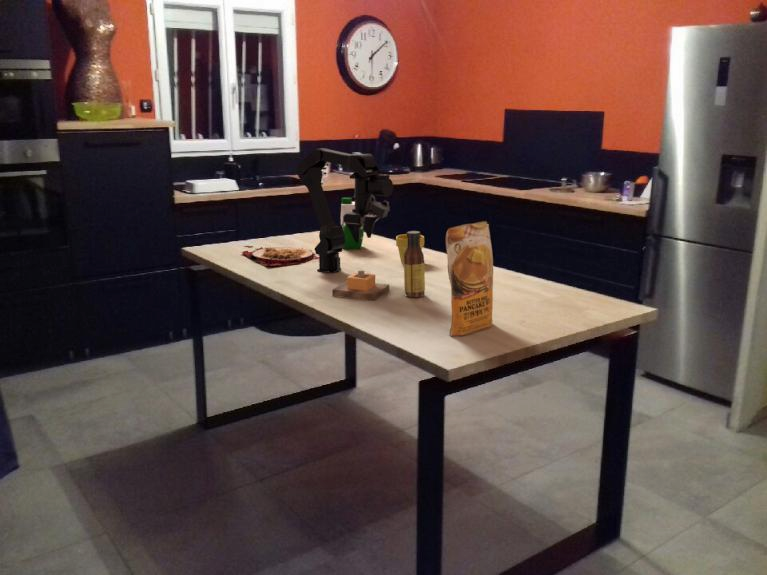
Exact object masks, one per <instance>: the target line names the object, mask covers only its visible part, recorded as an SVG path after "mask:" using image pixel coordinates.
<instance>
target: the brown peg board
mask: <svg viewBox="0 0 767 575" xmlns="http://www.w3.org/2000/svg"><path fill="white" fill-rule="evenodd" d="M357 273H358V278H364V273H365V270H358V271H357ZM331 291H332V294H331V296H333V297H339V296H340V297H341V298H347V297H348V299H354V300H355V299H356V300H357V299H358V300H366V301H373V302H374V301H377V300H378V299H380V298H381V297H382V296H384V295H385V294H386V293H388V292H390V284H388V283H387V284H386V283H379V282H378V283H377V282H375V286H374V287H372V288H371V289H369V290H367V291H364V290H356V289H347V280H346V281H345V282H343V283H341V284H339V285H337V286H336V287H334V288H332V290H331Z"/></svg>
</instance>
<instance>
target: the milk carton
mask: <svg viewBox="0 0 767 575" xmlns="http://www.w3.org/2000/svg"><path fill="white" fill-rule="evenodd" d="M352 209H355V201H353V200H352V197H342V198H341V203H340V226H342V228H343V232H344V234H345V236H346V237H345V244H344V246H343V249H342V250H355V251H356V250H362V245H363V240H364V230H365V227H364V225H363V226H362V227H361V232H360V240H359V243H356V242H355V240H354V238H353V236H352V234H351V232H350V230H349V228H348V227H347V225H346V224H345V223H344V222H343V216H344V215H345V214H347V213H349V212H352Z"/></svg>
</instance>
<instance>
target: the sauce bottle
mask: <svg viewBox="0 0 767 575" xmlns="http://www.w3.org/2000/svg"><path fill="white" fill-rule="evenodd" d="M406 234H407V238H408V244H407V249H406V251H405V253H404V264H403V273H404V275H403V276H404V278H403V279H404V281H403V282H404V283H403V284H404V294H405V296H406V297H407V298H417V299H418V298H421V297H424V296H425V292H426V291H425V290H426V282H425V280H426V278H425V274H426V273H425V270H426V269H425V256H424V253H423V250H421V248H420V235H421V232H420V231H417V230H410V231H407V232H406Z"/></svg>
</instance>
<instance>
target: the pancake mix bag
mask: <svg viewBox="0 0 767 575" xmlns="http://www.w3.org/2000/svg"><path fill="white" fill-rule="evenodd" d="M492 247H493V246H492V240H491V232H490V224H489V223H488V221H487V220H484V221H483V220H482V221H478V222H474V223H466V224H465V223H464V224H461V225H457V226H452V227H449V228H448V229H447V231H446V233H445V249H446V255H447V256H446V257H447V274H448V279H449V283H450V289H451V290H450V293H451V295H450V297H451V298H450V299H451V301H450V303H451V325H450V329H449V336H450V337H451V336H452V337H453V336H460V337H462V336H467V335H470V334H474V333H477V332H480V331H484V330H486V329H489V328H491V327H492V326H493V303H494V302H493V301H494V299H493V298H494V297H493V296H494V292H493V290H494V256H493V248H492Z"/></svg>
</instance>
